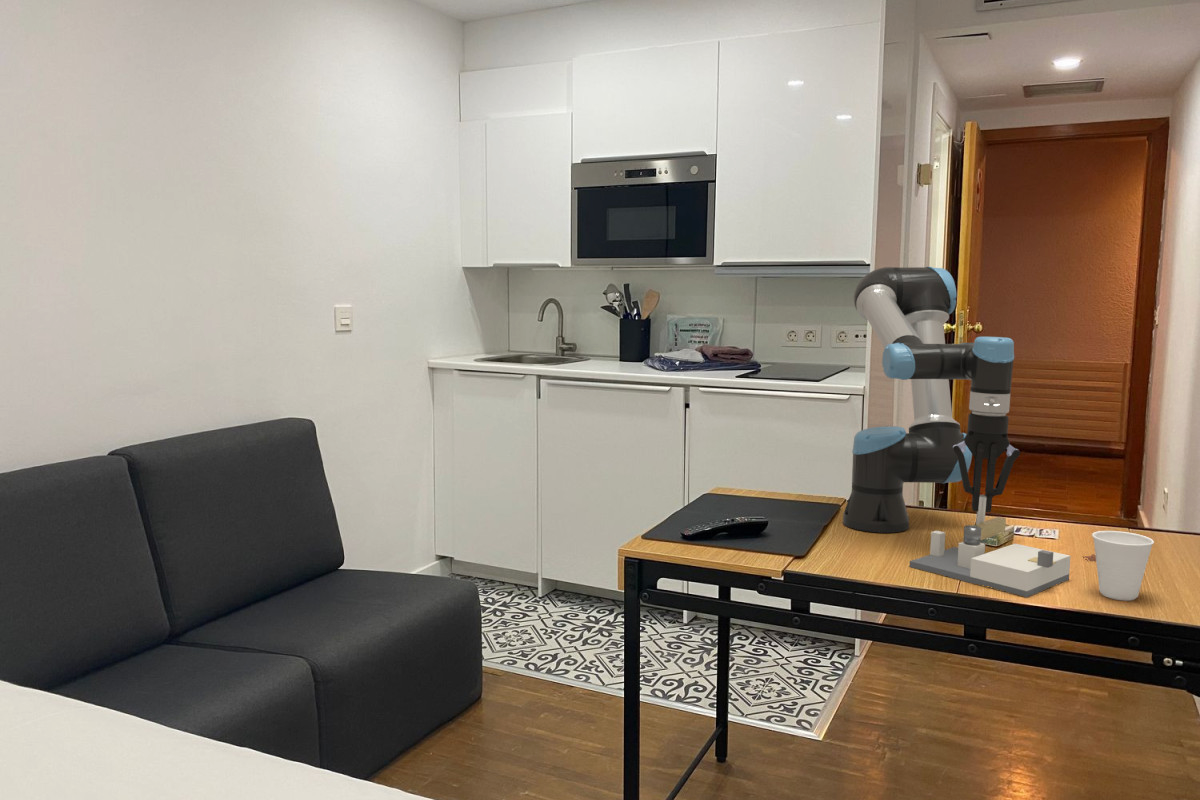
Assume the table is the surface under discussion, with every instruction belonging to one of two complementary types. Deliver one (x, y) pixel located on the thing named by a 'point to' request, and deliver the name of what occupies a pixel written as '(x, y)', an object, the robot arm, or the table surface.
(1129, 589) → the cup
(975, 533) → the latch bar
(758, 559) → the table surface
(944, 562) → the door board
